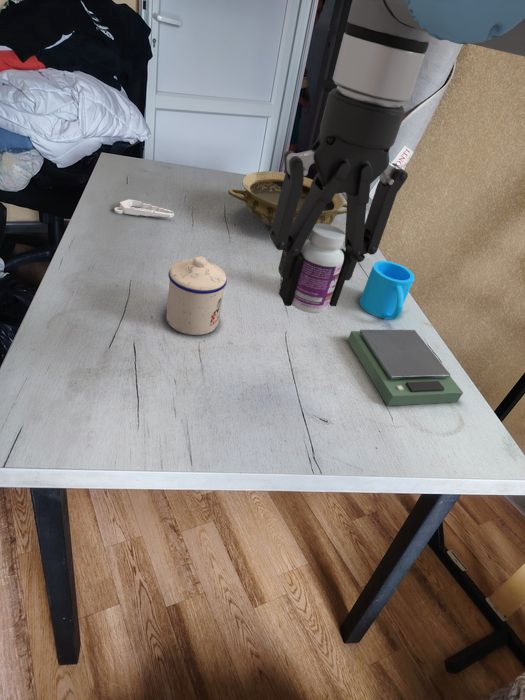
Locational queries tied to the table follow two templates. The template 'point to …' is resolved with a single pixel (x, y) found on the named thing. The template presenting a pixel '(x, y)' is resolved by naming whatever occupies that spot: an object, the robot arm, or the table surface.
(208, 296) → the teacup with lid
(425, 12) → the robot arm
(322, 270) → the pill bottle
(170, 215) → the white flat elongated piece
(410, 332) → the scale pan
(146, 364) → the table surface
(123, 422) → the table surface
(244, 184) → the ceramic bowl
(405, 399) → the scale
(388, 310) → the mug
